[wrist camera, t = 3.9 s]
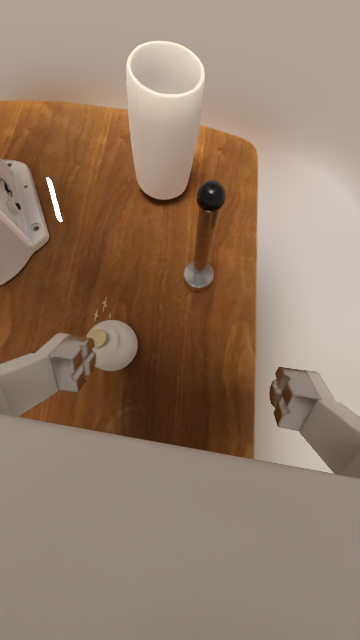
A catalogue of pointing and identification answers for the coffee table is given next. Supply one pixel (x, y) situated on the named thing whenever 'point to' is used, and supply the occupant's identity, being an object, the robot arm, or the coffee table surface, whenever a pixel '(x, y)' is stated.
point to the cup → (164, 115)
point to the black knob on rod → (204, 236)
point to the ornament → (113, 343)
